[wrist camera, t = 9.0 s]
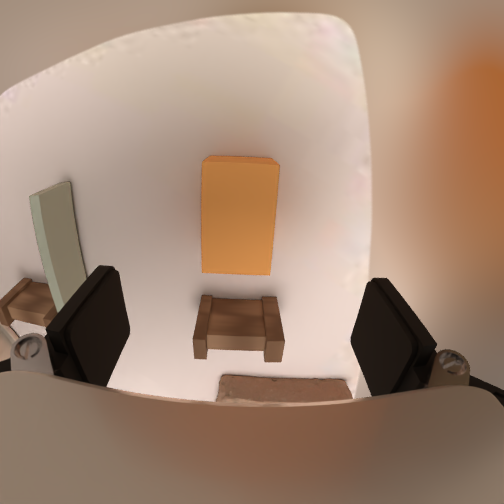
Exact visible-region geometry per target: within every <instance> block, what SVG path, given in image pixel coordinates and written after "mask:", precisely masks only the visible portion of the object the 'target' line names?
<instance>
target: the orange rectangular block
mask: <svg viewBox="0 0 504 504" xmlns="http://www.w3.org/2000/svg"><path fill="white" fill-rule="evenodd" d="M279 168H280V165H279V164H278V163H277V162H276V161H275V160H273V159H272V158H259V157H239V156H209V157H208V158H206V159H205V160H204V161H203V162H202V192H201V251H202V273H219V274H244V275H270V270H271V260H272V250H273V239H274V228H275V216H276V205H277V193H278V181H279Z"/></svg>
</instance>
